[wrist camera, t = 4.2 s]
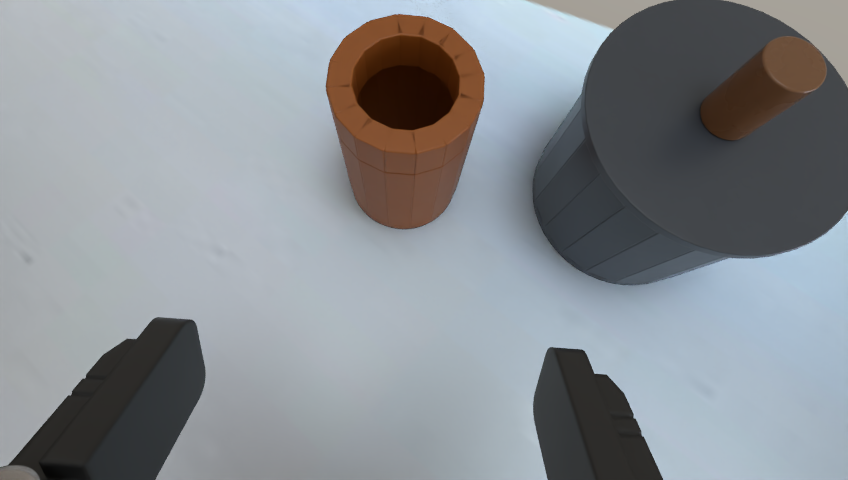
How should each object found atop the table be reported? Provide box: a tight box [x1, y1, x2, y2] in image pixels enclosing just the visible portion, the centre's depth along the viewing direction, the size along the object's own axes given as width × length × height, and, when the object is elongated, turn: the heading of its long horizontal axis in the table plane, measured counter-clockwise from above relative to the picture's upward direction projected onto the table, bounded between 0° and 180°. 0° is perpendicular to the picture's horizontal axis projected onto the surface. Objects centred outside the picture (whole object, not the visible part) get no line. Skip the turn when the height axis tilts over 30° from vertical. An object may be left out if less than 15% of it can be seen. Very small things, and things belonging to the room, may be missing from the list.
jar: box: [326, 14, 485, 229], centre depth 23 cm, size 6×6×10 cm
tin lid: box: [581, 0, 848, 258], centre depth 18 cm, size 12×12×5 cm
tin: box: [533, 94, 729, 285], centre depth 24 cm, size 11×11×9 cm
